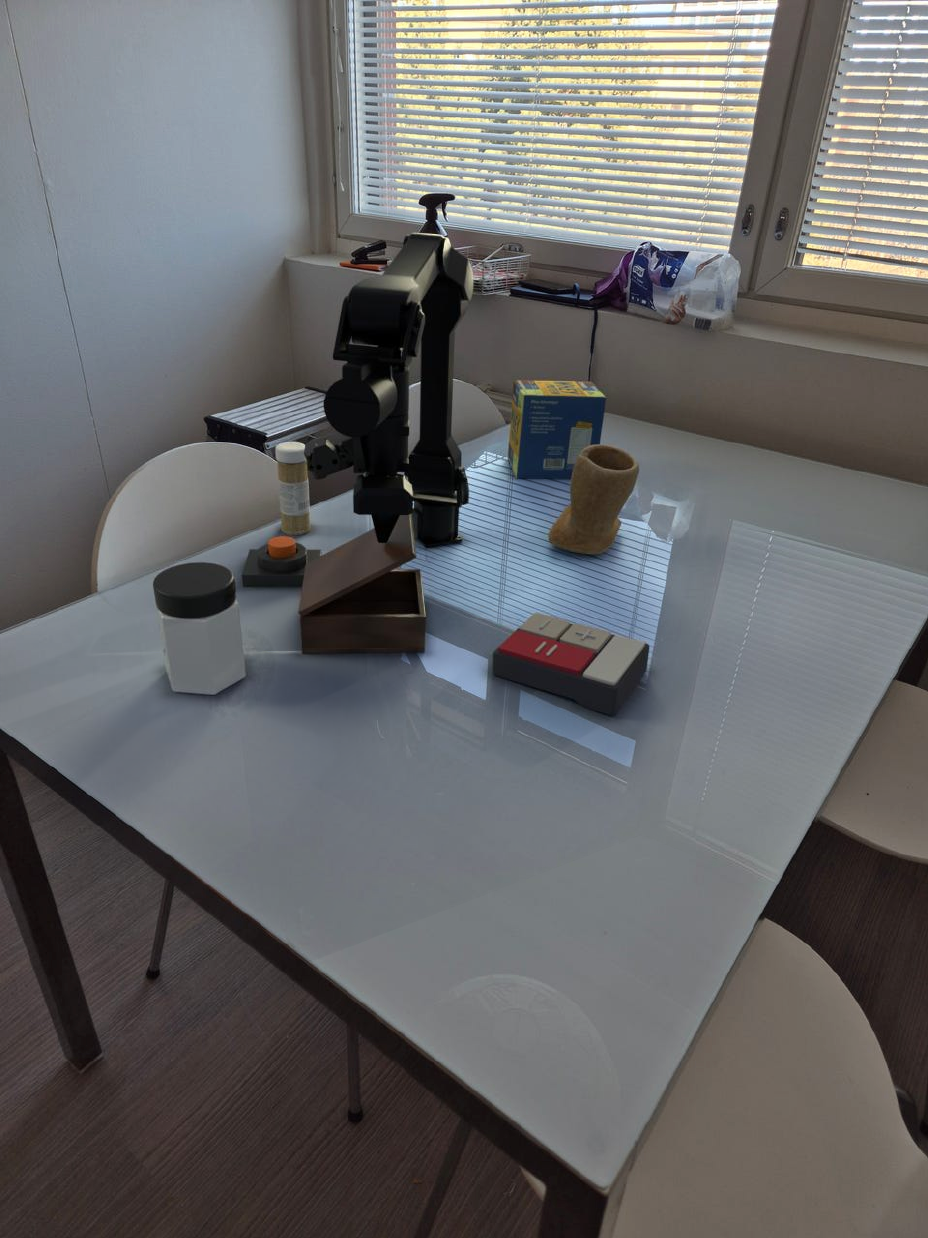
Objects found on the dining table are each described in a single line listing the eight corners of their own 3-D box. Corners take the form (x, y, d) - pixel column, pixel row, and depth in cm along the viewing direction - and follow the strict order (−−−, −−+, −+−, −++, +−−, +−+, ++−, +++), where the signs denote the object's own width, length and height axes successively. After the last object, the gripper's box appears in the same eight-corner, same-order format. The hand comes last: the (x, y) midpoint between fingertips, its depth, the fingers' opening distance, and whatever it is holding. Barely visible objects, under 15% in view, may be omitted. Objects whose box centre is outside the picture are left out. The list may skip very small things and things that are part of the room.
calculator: (533, 607, 101) (651, 638, 94) (532, 638, 103) (647, 670, 96) (491, 646, 92) (617, 683, 86) (490, 679, 94) (614, 717, 88)
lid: (411, 514, 102) (409, 509, 101) (416, 557, 91) (413, 552, 91) (308, 568, 104) (305, 563, 104) (301, 616, 93) (298, 612, 93)
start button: (296, 547, 113) (296, 536, 112) (294, 559, 110) (293, 547, 109) (270, 547, 113) (269, 535, 112) (267, 558, 110) (266, 547, 109)
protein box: (506, 459, 159) (512, 379, 151) (583, 460, 161) (593, 381, 153) (515, 478, 150) (522, 394, 142) (596, 479, 152) (608, 395, 144)
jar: (252, 687, 89) (243, 590, 83) (175, 704, 86) (159, 604, 80) (234, 647, 96) (224, 555, 90) (162, 661, 93) (146, 566, 87)
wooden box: (419, 602, 108) (420, 568, 106) (424, 652, 97) (425, 617, 95) (309, 602, 106) (307, 568, 104) (301, 653, 96) (299, 617, 93)
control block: (321, 561, 117) (320, 539, 115) (318, 587, 110) (317, 564, 108) (250, 561, 116) (248, 538, 114) (242, 587, 109) (240, 564, 107)
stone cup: (616, 567, 120) (631, 470, 112) (538, 551, 124) (549, 455, 116) (637, 530, 132) (652, 440, 125) (566, 516, 136) (577, 427, 128)
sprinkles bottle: (301, 522, 128) (297, 438, 122) (316, 532, 126) (312, 447, 119) (275, 528, 126) (269, 443, 119) (290, 539, 123) (284, 452, 116)
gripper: (312, 386, 96) (317, 510, 104) (300, 435, 80) (307, 578, 87) (407, 388, 97) (405, 511, 105) (414, 437, 81) (411, 578, 89)
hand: (382, 541), depth 96 cm, fingers closed
